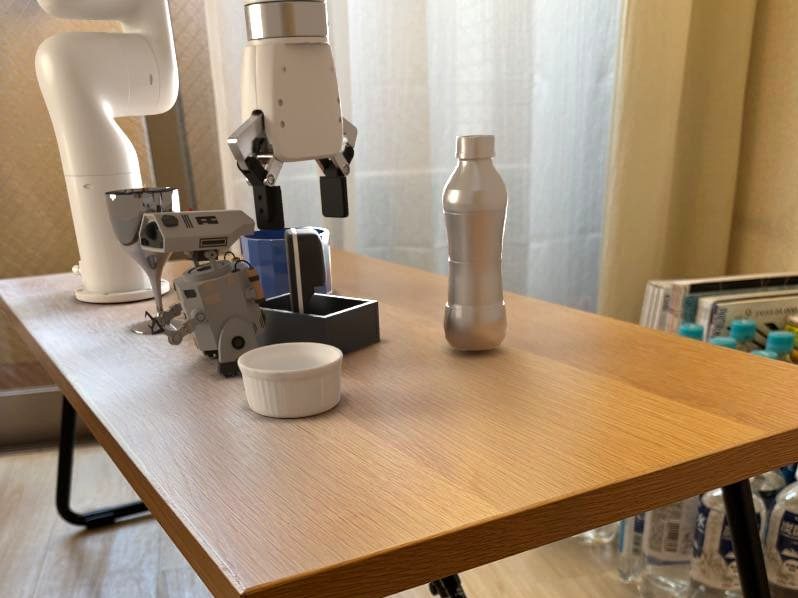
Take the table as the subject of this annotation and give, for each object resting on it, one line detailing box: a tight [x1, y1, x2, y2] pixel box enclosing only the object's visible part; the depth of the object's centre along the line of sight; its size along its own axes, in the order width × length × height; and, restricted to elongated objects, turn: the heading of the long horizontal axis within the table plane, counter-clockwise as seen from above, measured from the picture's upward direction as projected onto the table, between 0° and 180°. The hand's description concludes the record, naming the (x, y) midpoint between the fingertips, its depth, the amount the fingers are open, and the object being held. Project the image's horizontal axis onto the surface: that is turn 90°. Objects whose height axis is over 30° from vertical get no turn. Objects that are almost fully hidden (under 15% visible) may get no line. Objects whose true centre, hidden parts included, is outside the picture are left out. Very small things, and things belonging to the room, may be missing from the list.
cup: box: [238, 226, 334, 299], centre depth 117 cm, size 11×11×8 cm
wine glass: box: [105, 186, 185, 335], centre depth 102 cm, size 8×8×15 cm
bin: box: [256, 293, 381, 356], centre depth 95 cm, size 9×12×4 cm
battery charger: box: [285, 228, 327, 314], centre depth 93 cm, size 7×4×11 cm, turn 9°
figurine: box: [139, 207, 268, 378], centre depth 86 cm, size 9×12×15 cm
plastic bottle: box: [441, 134, 509, 352], centre depth 87 cm, size 6×7×20 cm
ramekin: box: [238, 342, 344, 419], centre depth 77 cm, size 9×9×4 cm
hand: (304, 223), depth 90 cm, fingers open, 9 cm apart
